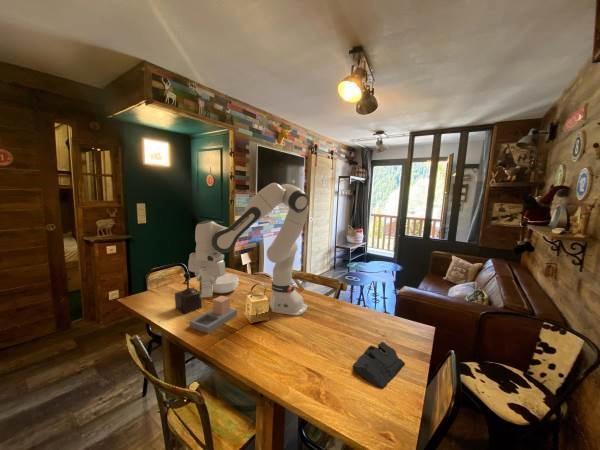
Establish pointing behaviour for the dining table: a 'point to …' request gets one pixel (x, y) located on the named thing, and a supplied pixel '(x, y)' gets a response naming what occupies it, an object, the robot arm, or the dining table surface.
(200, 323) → the tray
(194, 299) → the manual coffee grinder
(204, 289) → the syrup box
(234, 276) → the bowl
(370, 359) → the dark slate chunk
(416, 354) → the dining table surface
